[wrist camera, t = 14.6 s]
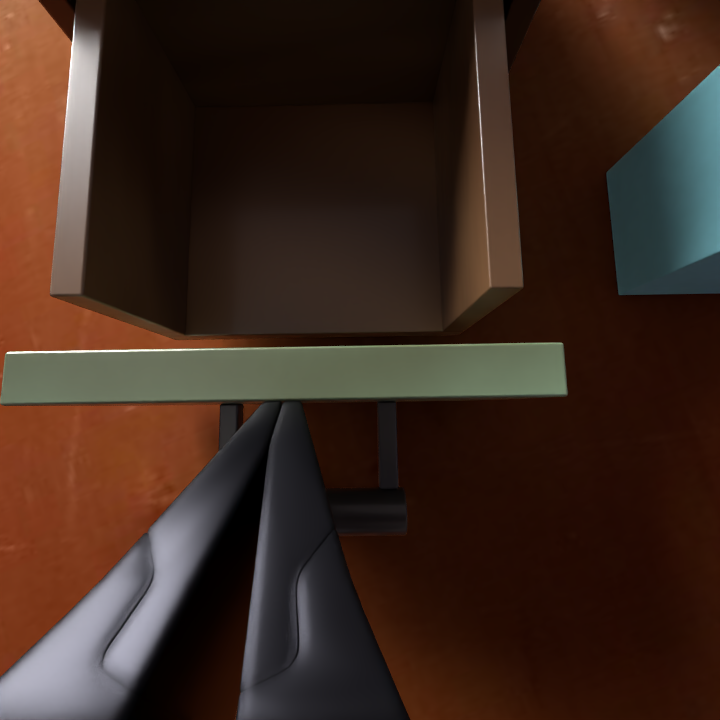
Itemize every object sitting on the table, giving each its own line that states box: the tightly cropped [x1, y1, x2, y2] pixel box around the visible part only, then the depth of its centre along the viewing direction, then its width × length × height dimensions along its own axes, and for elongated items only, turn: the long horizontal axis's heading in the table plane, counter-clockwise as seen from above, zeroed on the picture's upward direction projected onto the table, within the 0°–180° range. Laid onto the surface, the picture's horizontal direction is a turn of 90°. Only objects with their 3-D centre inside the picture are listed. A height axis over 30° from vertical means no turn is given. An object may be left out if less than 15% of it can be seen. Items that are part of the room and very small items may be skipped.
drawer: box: [0, 0, 568, 536], centre depth 12 cm, size 17×12×6 cm
